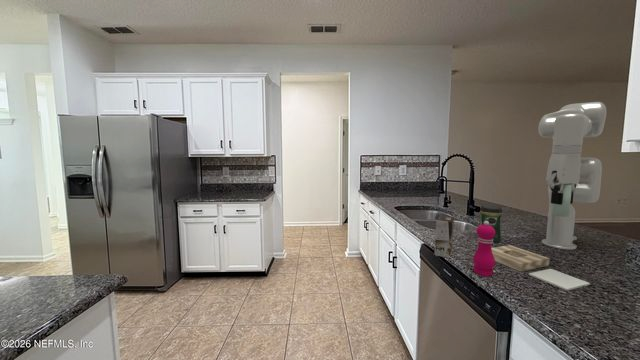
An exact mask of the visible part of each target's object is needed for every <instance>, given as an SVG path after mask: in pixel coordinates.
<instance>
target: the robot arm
mask: <svg viewBox="0 0 640 360" xmlns="http://www.w3.org/2000/svg"><path fill="white" fill-rule="evenodd" d="M607 113H608V112H607V107H606V105H605V104H604V103H603V102H601V101H590V102H579V103H569V104H566V105H564V106H562V107H561V108H560V109H559V111H554V112H551V113H547V114H544V115H543V116H542V117H541V119H540V121H539V123H538V128H537V130H538V135H540V136H539V137H542V138H545V139H546V138H548V139H549V138H551V139H552V150H551V155H550V157H549V161H548V165H547V170H546V178H545V182H546V184H547V186H548V187H547V191H548V215H547V226H546V235H545V238H544V239H542V240H541V243H542V244H543V245H545V246H548V247H550V248H551V247H552V248H556V249H560V250H568V251H569V250H572V251H573V250H576V249H577V244H575V243H573V242H574V241H577V239H578V238H577V236H575V235H574V233H575V232H574V231H575V220H576V209H575V208H574V206H573V205H572V204H573V203H574V202H576V203H589V204H590V203H591V204H592V203H597V202H598V200H599V199H600V197H601V195H600V194H601V183H602V174H603V165H602V162H601V160H600V159H598V158H596V157H583V156H582V151H583V142H584V138H596V137H599V136H600V135H601V134H602V133H603V132H604V131H603V130H604V126H605V124H606V119H607ZM581 156H582V157H581ZM580 179H584V180H586V181H581V180H580ZM559 183H560V184H559ZM564 184H572V191H571V201H570V211H569V217H561V216H555V215H552V207H553V204H558V205H562V202H563V193H562V190H563V186H564ZM558 186H559V188H558Z"/></svg>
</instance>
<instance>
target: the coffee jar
mask: <svg viewBox="0 0 640 360" xmlns="http://www.w3.org/2000/svg"><path fill="white" fill-rule="evenodd" d="M479 211H480V213H479V214H480V217H481V218H480V225H484V221H488V222H489V225H490V226H492V227H493V228H494V229H495V236H494V237H493V243H499V242H501V240H502V231H501V219H502V218H501V217H502V216H503V208H502V206H501V205H500V204H492V203H491V204H489V203H482V204H481V207H480V210H479Z"/></svg>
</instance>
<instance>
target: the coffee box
mask: <svg viewBox="0 0 640 360" xmlns="http://www.w3.org/2000/svg"><path fill="white" fill-rule="evenodd" d="M454 219H455V218H454V217H453V216H441V215H439V216H438V217H437V218H436V220H435V237H434V238H435V239H434V241H435V242H434V255H435V256H438V257H442V258H447V259H450V258H451V255H452V253H453V241H454V240H453V239H454V238H453V237H454V221H455V220H454Z"/></svg>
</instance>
